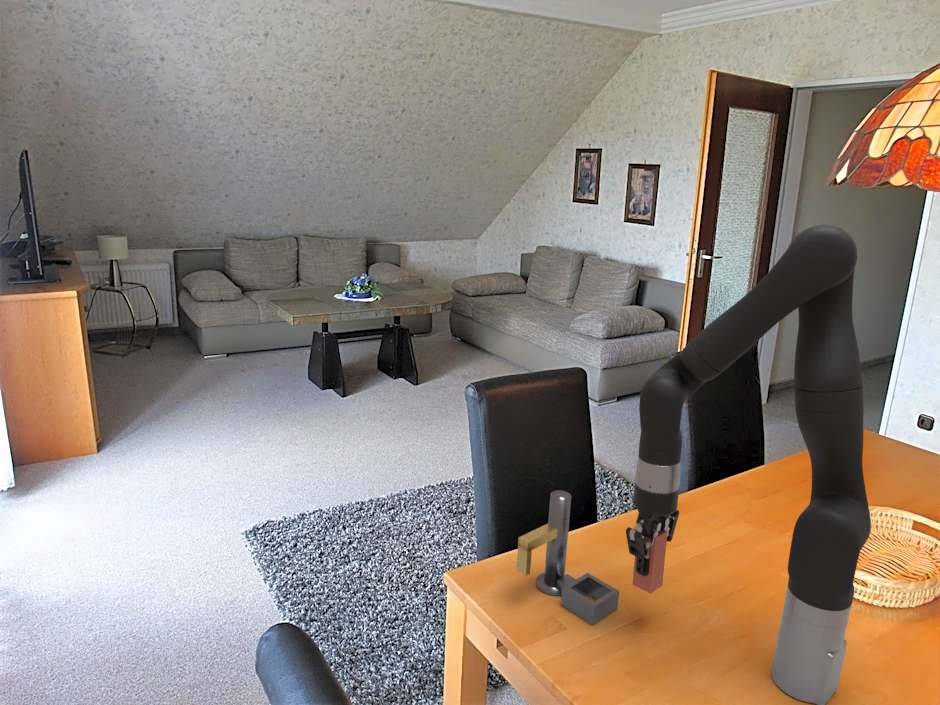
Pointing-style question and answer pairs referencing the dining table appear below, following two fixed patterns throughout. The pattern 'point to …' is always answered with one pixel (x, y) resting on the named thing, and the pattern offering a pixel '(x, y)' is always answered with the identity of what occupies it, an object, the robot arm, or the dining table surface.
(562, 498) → the grey stand
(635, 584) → the red rectangular block
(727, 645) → the dining table surface
